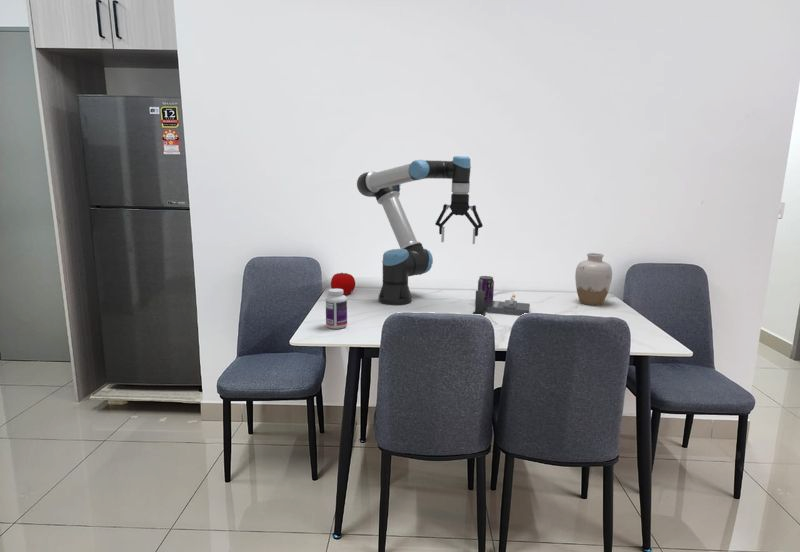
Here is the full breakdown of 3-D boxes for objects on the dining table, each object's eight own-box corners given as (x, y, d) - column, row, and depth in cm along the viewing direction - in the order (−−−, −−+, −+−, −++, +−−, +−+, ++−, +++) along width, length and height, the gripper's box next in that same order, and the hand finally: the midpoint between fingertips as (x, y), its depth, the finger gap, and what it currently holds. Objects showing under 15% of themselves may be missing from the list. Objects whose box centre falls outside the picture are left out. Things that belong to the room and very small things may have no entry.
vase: (577, 297, 258) (581, 250, 253) (612, 301, 250) (616, 253, 245) (569, 304, 244) (573, 254, 240) (605, 309, 236) (610, 258, 232)
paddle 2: (509, 303, 226) (512, 298, 225) (509, 301, 229) (512, 296, 228) (511, 304, 226) (514, 299, 225) (512, 302, 229) (515, 298, 228)
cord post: (472, 315, 223) (473, 292, 221) (473, 312, 228) (474, 289, 226) (484, 316, 221) (485, 293, 219) (486, 313, 226) (487, 290, 224)
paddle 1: (510, 300, 231) (512, 295, 230) (510, 298, 234) (513, 294, 233) (512, 301, 231) (515, 296, 230) (513, 300, 233) (515, 295, 233)
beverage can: (492, 305, 240) (493, 279, 238) (476, 304, 242) (477, 278, 239) (493, 301, 247) (494, 276, 245) (477, 300, 248) (478, 275, 246)
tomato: (325, 293, 259) (325, 272, 257) (345, 289, 266) (345, 269, 264) (340, 297, 250) (340, 275, 248) (360, 294, 258) (360, 273, 256)
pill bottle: (347, 323, 208) (347, 287, 206) (346, 329, 201) (346, 292, 198) (327, 323, 208) (326, 287, 205) (324, 329, 200) (324, 292, 197)
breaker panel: (475, 311, 229) (476, 303, 228) (479, 305, 240) (479, 297, 239) (528, 316, 223) (528, 308, 222) (529, 309, 234) (529, 301, 234)
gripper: (429, 192, 227) (428, 242, 231) (489, 194, 221) (486, 245, 225) (433, 192, 234) (431, 240, 238) (490, 194, 228) (487, 243, 232)
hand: (458, 242), depth 232 cm, fingers open, 13 cm apart
